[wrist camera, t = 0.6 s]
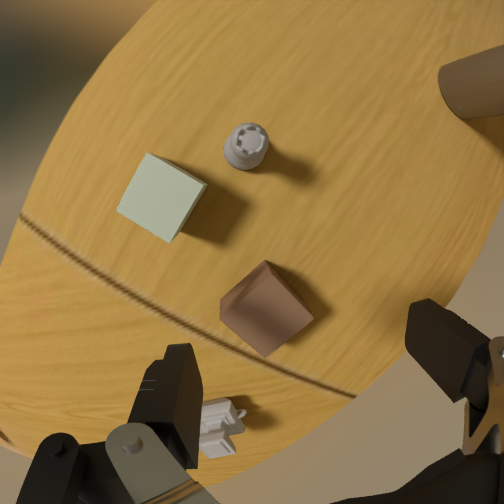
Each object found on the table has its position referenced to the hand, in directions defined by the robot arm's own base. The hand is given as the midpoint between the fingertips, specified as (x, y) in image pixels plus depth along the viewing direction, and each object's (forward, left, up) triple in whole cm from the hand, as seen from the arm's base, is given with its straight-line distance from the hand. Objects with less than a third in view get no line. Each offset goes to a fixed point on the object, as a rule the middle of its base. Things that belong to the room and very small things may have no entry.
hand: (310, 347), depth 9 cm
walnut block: (+5, +7, -23) cm, 24 cm away
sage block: (+4, -9, -23) cm, 25 cm away
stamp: (+22, +16, -23) cm, 35 cm away
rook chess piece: (-5, -7, -23) cm, 24 cm away
